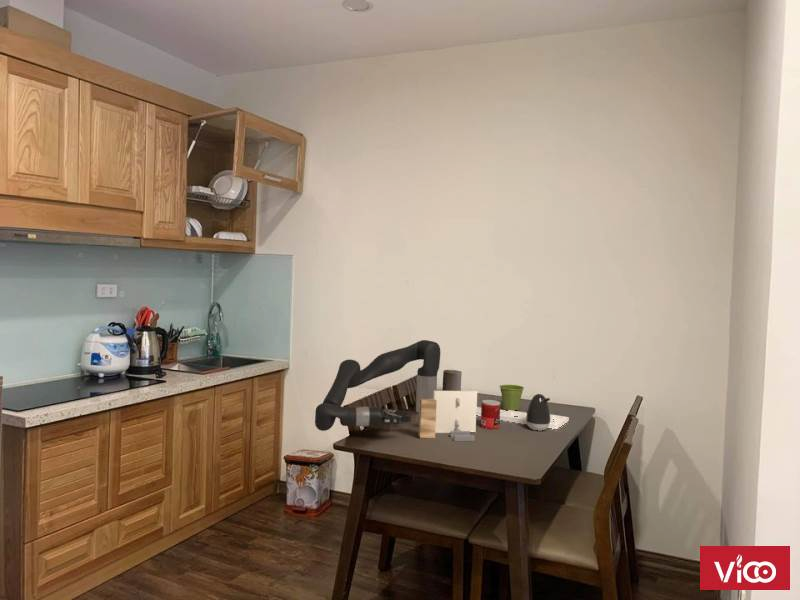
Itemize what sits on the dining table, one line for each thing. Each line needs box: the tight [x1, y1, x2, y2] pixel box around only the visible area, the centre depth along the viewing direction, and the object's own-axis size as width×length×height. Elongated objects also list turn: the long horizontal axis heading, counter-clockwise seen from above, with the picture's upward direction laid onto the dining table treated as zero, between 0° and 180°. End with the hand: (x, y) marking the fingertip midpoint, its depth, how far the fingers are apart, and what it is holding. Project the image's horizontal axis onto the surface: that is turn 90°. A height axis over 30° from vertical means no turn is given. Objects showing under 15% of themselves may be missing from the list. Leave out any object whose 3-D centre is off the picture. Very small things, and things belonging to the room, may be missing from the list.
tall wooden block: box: [417, 399, 437, 439], centre depth 243 cm, size 4×6×15 cm, turn 100°
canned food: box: [480, 399, 501, 430], centre depth 263 cm, size 8×8×11 cm
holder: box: [476, 406, 570, 430], centre depth 282 cm, size 45×18×3 cm, turn 58°
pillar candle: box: [441, 368, 463, 391], centre depth 323 cm, size 10×10×15 cm
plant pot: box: [499, 384, 525, 411], centre depth 298 cm, size 12×12×11 cm
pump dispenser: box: [526, 393, 551, 432], centre depth 262 cm, size 10×10×15 cm
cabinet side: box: [433, 390, 478, 442], centre depth 246 cm, size 14×18×17 cm
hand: (408, 416), depth 241 cm, fingers open, 8 cm apart
